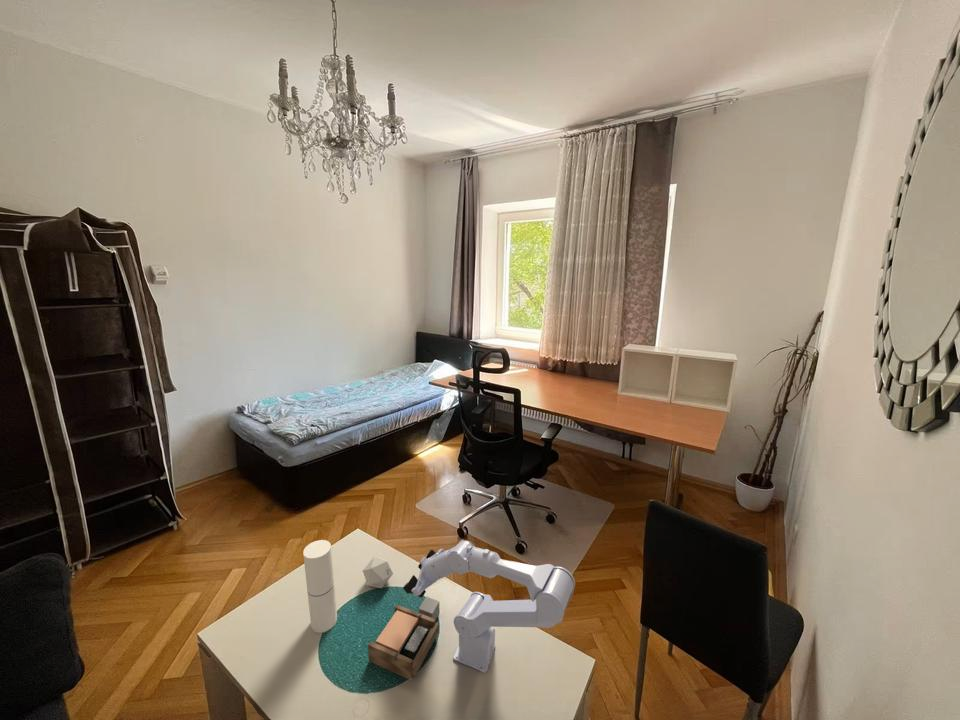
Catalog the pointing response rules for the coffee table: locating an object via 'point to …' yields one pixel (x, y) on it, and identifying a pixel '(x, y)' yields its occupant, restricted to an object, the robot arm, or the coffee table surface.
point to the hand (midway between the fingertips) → (413, 578)
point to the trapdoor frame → (398, 661)
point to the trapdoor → (402, 634)
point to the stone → (430, 608)
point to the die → (377, 572)
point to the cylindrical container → (320, 585)
